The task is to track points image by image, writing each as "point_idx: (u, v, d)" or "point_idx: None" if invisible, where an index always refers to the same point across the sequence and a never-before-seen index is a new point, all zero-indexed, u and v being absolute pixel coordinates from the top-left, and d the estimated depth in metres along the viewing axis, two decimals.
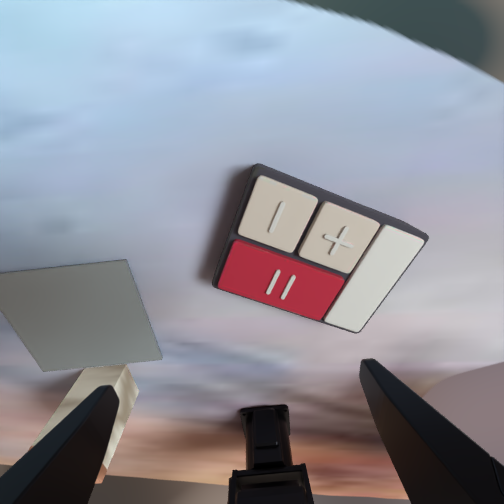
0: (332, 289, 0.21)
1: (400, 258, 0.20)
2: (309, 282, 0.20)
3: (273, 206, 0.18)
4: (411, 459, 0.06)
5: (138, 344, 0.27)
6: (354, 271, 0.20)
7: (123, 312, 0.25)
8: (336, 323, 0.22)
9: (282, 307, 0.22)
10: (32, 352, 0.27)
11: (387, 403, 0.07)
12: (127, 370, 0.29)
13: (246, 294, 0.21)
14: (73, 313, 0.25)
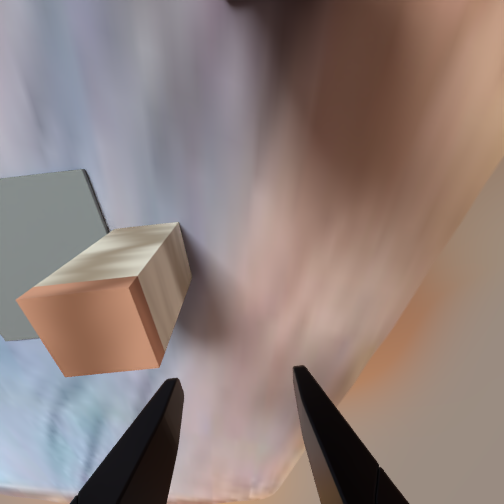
0: None
1: None
2: None
3: None
4: (318, 468, 0.06)
5: (54, 201, 0.17)
6: None
7: None
8: None
9: None
10: None
11: (304, 411, 0.07)
12: (122, 229, 0.18)
13: None
14: (24, 272, 0.20)
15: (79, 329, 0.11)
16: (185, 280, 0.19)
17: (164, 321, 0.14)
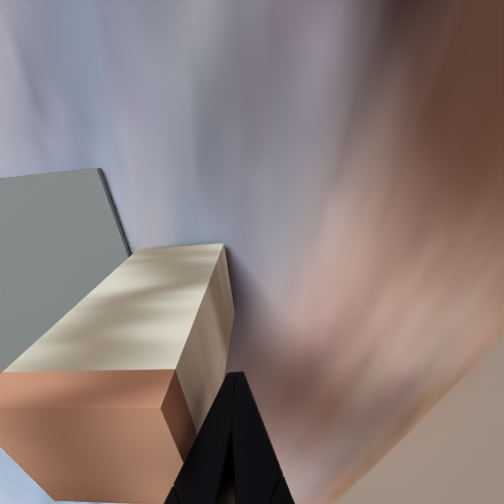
0: None
1: None
2: None
3: None
4: None
5: (58, 212, 0.12)
6: None
7: None
8: None
9: None
10: None
11: None
12: (149, 249, 0.14)
13: None
14: (15, 304, 0.15)
15: (73, 452, 0.07)
16: (229, 323, 0.14)
17: None
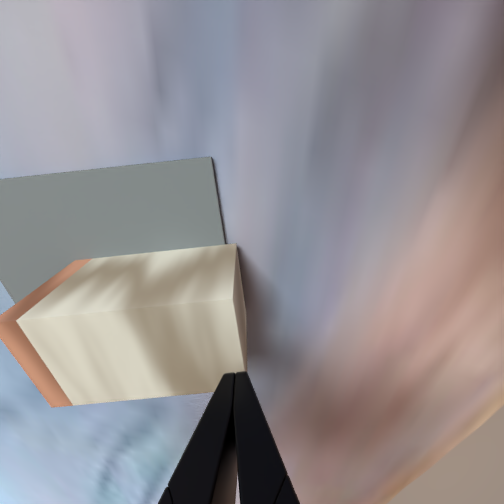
0: None
1: None
2: None
3: None
4: None
5: (163, 202, 0.12)
6: None
7: (77, 215, 0.12)
8: None
9: None
10: None
11: None
12: (230, 249, 0.13)
13: None
14: None
15: None
16: (202, 379, 0.11)
17: (83, 384, 0.10)
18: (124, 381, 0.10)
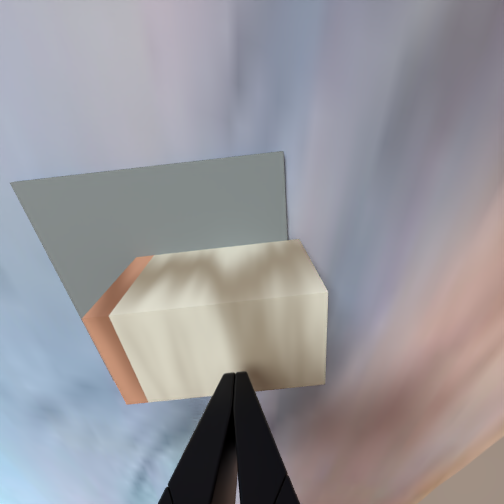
0: None
1: None
2: None
3: None
4: None
5: (231, 198, 0.12)
6: None
7: (144, 211, 0.12)
8: None
9: None
10: None
11: None
12: (297, 245, 0.13)
13: None
14: None
15: None
16: (281, 374, 0.10)
17: (163, 380, 0.10)
18: (204, 377, 0.10)
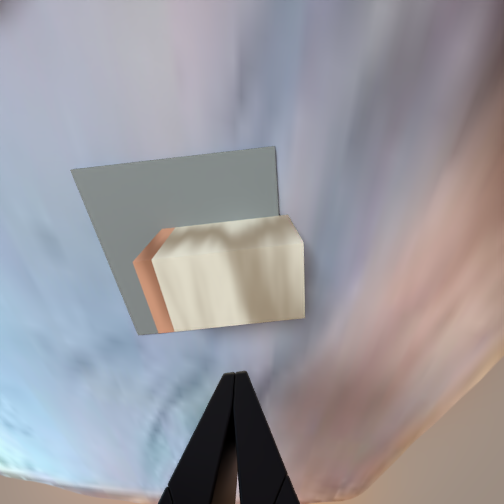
0: None
1: None
2: None
3: None
4: None
5: (235, 182, 0.16)
6: None
7: (169, 192, 0.16)
8: None
9: None
10: None
11: None
12: (285, 218, 0.16)
13: None
14: None
15: None
16: (272, 309, 0.14)
17: (186, 312, 0.14)
18: (216, 311, 0.14)
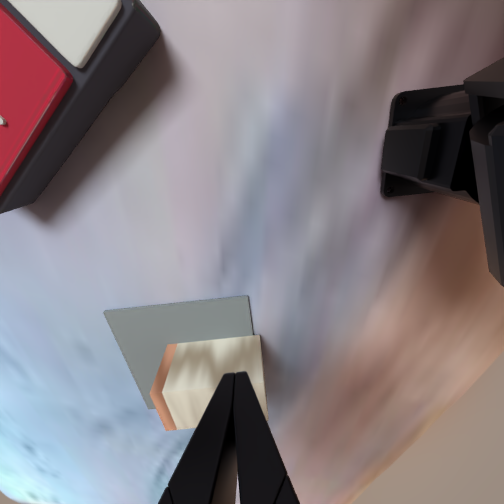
0: None
1: None
2: None
3: None
4: None
5: (220, 317, 0.22)
6: None
7: (173, 323, 0.22)
8: (84, 41, 0.11)
9: (28, 131, 0.13)
10: None
11: None
12: (257, 341, 0.23)
13: None
14: None
15: None
16: None
17: (185, 419, 0.21)
18: None
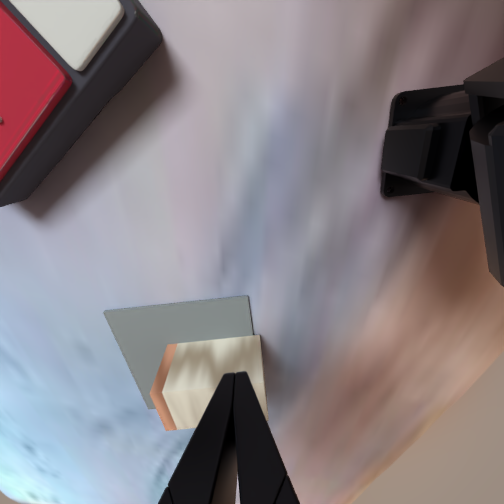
0: None
1: None
2: None
3: None
4: None
5: (220, 317, 0.22)
6: None
7: (173, 323, 0.22)
8: (85, 46, 0.11)
9: (24, 130, 0.13)
10: None
11: None
12: (257, 341, 0.23)
13: None
14: None
15: None
16: None
17: (185, 419, 0.21)
18: None
